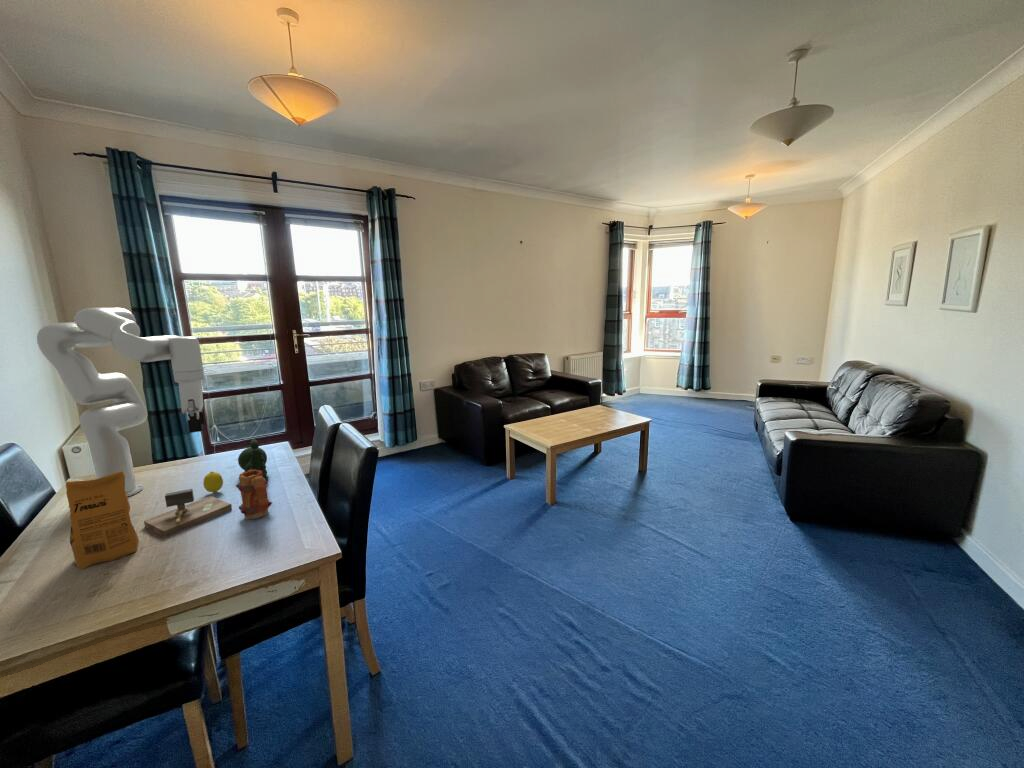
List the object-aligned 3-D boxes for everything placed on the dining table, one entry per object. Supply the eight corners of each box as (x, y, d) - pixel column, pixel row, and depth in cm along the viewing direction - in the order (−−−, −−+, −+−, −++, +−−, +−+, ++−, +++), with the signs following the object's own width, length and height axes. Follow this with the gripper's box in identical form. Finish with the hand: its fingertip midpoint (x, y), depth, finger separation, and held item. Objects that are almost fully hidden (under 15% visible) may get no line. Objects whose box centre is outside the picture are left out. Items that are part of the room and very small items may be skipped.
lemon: (214, 497, 140) (211, 475, 138) (201, 495, 141) (197, 474, 140) (228, 490, 145) (225, 469, 144) (215, 488, 146) (212, 467, 145)
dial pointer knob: (169, 512, 125) (166, 493, 124) (195, 507, 129) (192, 488, 128) (164, 526, 118) (160, 505, 116) (191, 520, 121) (188, 500, 120)
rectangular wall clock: (144, 526, 121) (143, 520, 121) (211, 501, 137) (210, 495, 137) (164, 537, 116) (163, 530, 115) (231, 509, 132) (231, 503, 131)
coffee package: (77, 554, 108) (60, 477, 104) (140, 537, 116) (126, 465, 112) (71, 573, 101) (52, 490, 96) (139, 553, 108) (124, 476, 104)
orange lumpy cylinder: (237, 514, 128) (231, 470, 125) (266, 505, 134) (260, 462, 131) (251, 532, 119) (244, 484, 116) (281, 521, 125) (276, 475, 122)
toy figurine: (276, 490, 149) (265, 463, 168) (271, 442, 144) (260, 420, 163) (246, 497, 143) (237, 469, 162) (239, 448, 138) (232, 425, 157)
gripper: (178, 373, 133) (186, 423, 137) (169, 381, 119) (179, 437, 123) (206, 371, 137) (213, 419, 141) (201, 378, 123) (209, 432, 127)
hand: (197, 427), depth 132 cm, fingers open, 9 cm apart
